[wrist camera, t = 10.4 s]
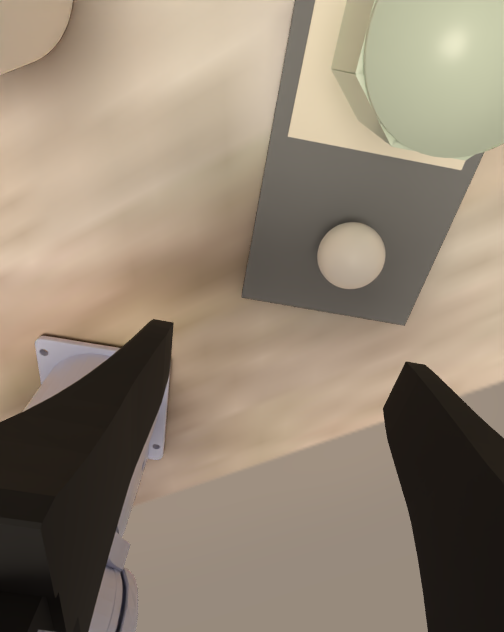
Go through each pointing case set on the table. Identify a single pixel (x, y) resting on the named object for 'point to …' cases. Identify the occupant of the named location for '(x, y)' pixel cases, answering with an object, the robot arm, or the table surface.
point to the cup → (30, 30)
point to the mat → (343, 188)
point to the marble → (351, 255)
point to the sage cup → (425, 73)
